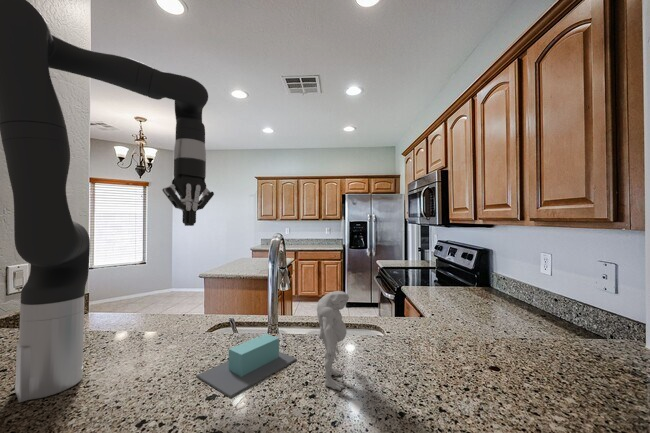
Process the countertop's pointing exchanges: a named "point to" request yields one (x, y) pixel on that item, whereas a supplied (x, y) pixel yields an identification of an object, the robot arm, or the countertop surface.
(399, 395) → the countertop surface
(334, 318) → the figurine
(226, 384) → the rubber mat
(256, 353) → the teal block
